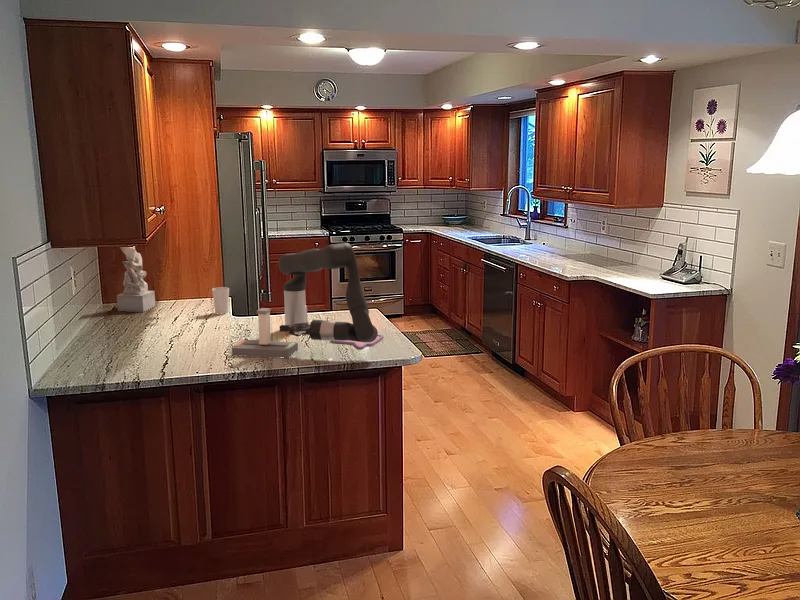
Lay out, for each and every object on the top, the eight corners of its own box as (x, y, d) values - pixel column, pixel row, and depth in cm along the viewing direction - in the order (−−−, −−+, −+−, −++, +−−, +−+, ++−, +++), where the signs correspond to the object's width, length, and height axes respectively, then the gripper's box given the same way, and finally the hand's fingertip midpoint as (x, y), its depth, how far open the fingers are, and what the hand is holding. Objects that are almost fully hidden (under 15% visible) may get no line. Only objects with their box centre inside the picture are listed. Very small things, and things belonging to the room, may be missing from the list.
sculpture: (155, 306, 339) (150, 237, 332) (143, 312, 326) (138, 240, 319) (130, 305, 340) (125, 237, 333) (117, 311, 327) (111, 240, 320)
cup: (232, 311, 328) (231, 287, 325) (226, 315, 320) (225, 290, 318) (216, 311, 329) (215, 287, 326) (210, 314, 321) (209, 290, 318)
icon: (323, 343, 267) (343, 331, 286) (323, 346, 267) (343, 334, 286) (367, 347, 261) (385, 335, 280) (367, 351, 261) (385, 338, 280)
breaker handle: (263, 341, 259) (261, 308, 256) (271, 341, 258) (270, 308, 255) (258, 344, 254) (256, 310, 252) (267, 344, 254) (266, 310, 251)
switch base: (244, 346, 265) (244, 338, 264) (297, 349, 261) (297, 341, 260) (232, 355, 253) (231, 346, 252) (287, 358, 249) (287, 350, 248)
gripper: (328, 316, 256) (285, 314, 259) (318, 324, 244) (273, 322, 247) (329, 335, 258) (286, 333, 261) (319, 344, 245) (274, 342, 248)
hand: (280, 328), depth 254 cm, fingers closed
